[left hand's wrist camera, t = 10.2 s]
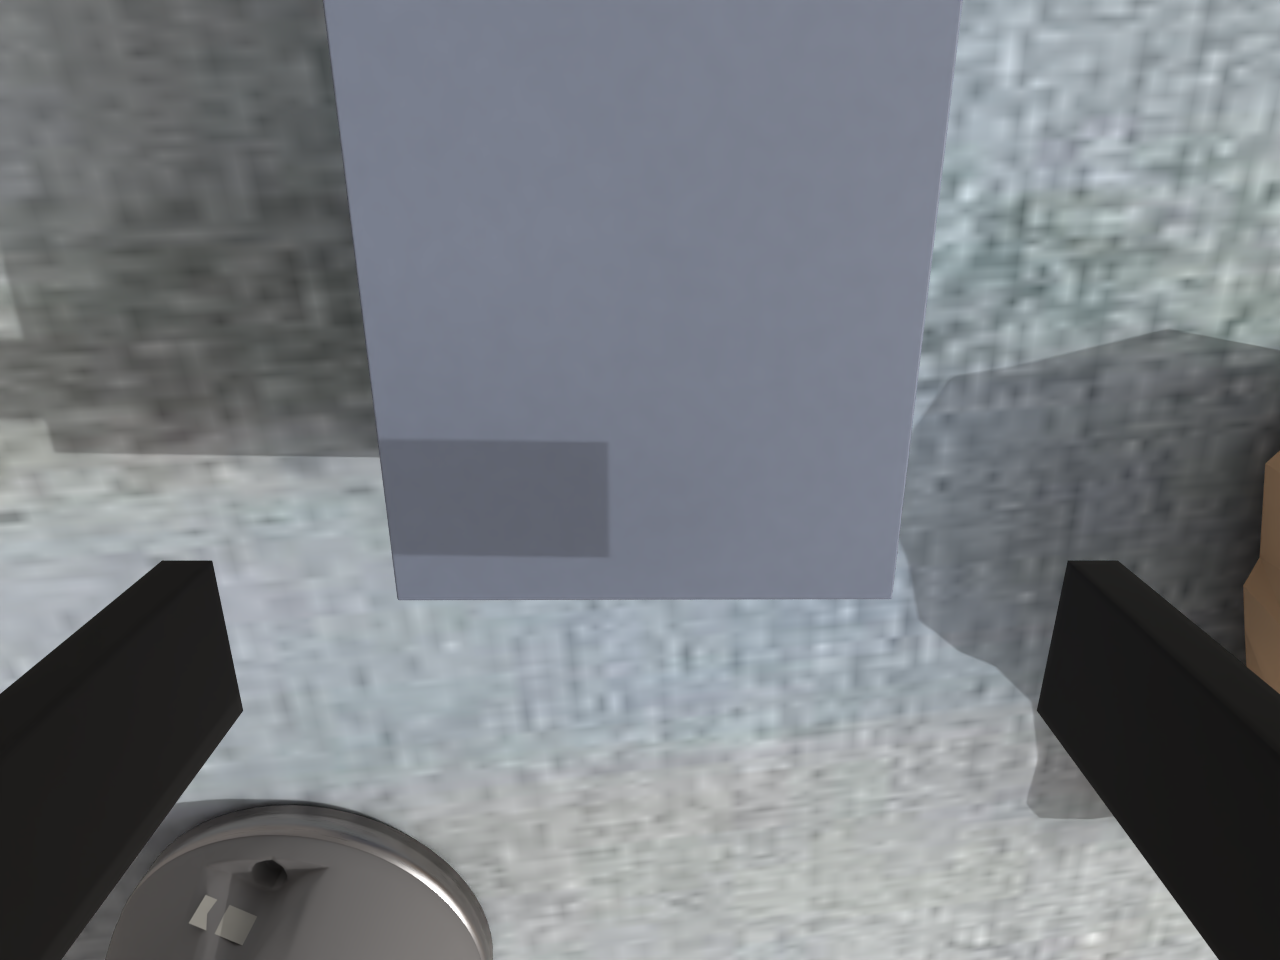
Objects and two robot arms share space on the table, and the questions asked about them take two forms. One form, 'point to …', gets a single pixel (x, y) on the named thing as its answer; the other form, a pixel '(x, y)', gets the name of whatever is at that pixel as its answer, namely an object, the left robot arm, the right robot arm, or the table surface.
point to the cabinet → (643, 286)
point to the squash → (1265, 588)
